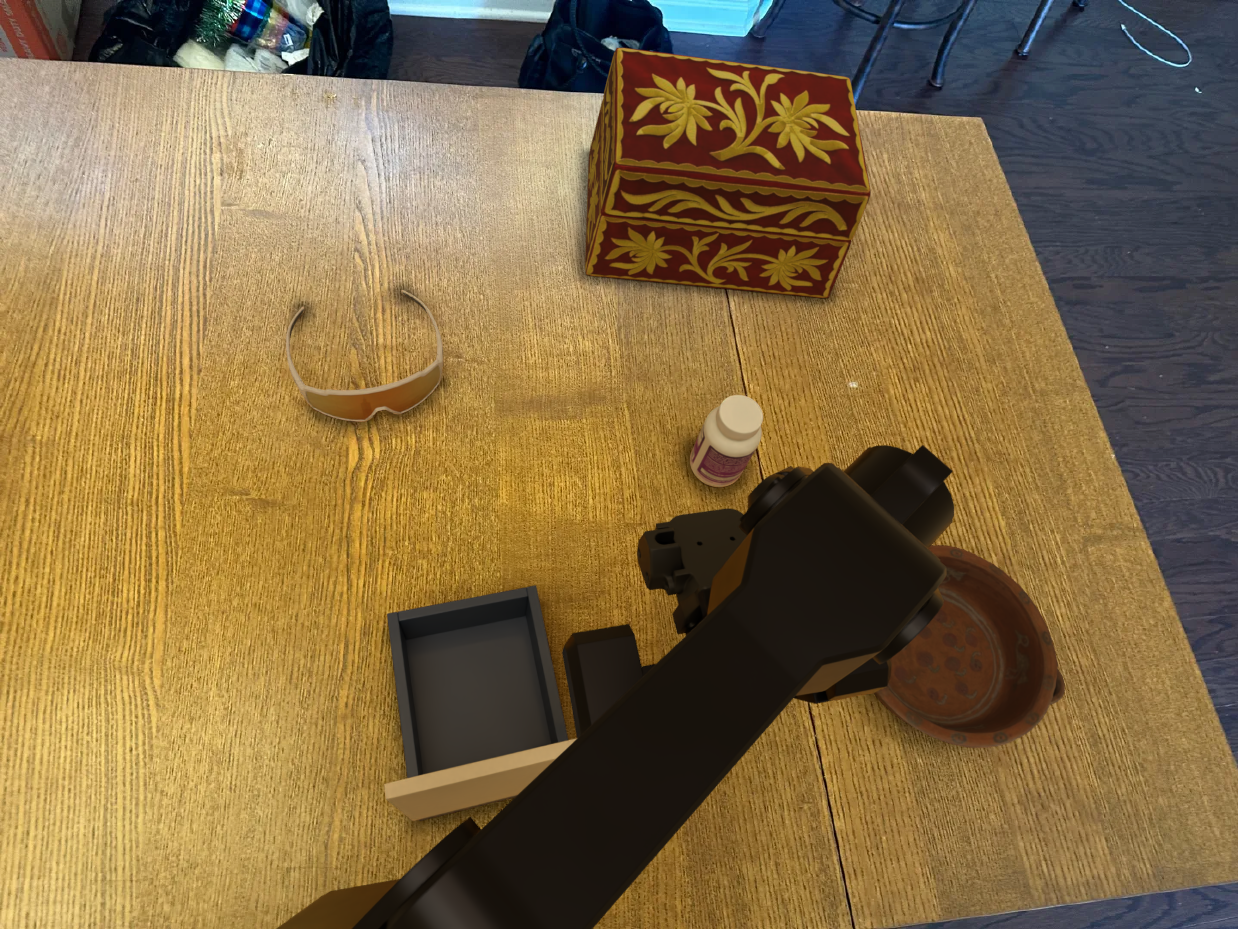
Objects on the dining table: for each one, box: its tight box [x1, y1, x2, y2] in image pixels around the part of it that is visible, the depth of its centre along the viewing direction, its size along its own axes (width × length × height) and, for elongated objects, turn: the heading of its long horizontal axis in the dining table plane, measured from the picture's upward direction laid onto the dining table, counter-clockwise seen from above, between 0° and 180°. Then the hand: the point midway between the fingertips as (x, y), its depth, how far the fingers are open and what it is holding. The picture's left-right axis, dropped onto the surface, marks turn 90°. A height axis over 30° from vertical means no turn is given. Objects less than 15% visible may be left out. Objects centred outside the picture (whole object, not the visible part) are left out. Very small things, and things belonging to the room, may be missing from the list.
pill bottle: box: [689, 394, 764, 488], centre depth 75 cm, size 5×5×10 cm
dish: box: [873, 544, 1066, 749], centre depth 71 cm, size 17×22×5 cm
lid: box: [383, 737, 577, 822], centre depth 50 cm, size 15×12×1 cm
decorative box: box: [584, 47, 872, 299], centre depth 87 cm, size 28×19×15 cm
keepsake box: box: [386, 584, 569, 822], centre depth 63 cm, size 15×12×6 cm
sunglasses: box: [285, 289, 444, 423], centre depth 78 cm, size 14×15×5 cm
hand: (696, 693), depth 55 cm, fingers open, 9 cm apart
